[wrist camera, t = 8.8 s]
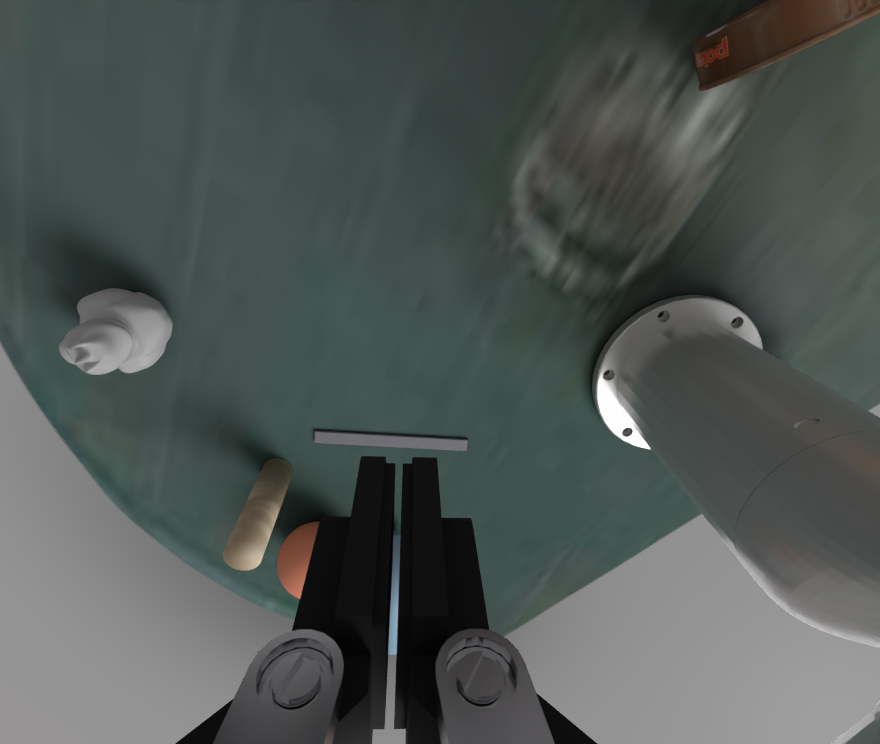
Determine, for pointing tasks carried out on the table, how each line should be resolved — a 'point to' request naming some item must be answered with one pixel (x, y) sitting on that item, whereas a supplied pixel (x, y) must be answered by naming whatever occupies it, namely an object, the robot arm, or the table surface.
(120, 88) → the table surface
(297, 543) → the ball
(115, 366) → the white figurine
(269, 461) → the birch pin
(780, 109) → the table surface
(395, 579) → the pin
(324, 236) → the table surface
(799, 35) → the tin
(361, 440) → the lane line
